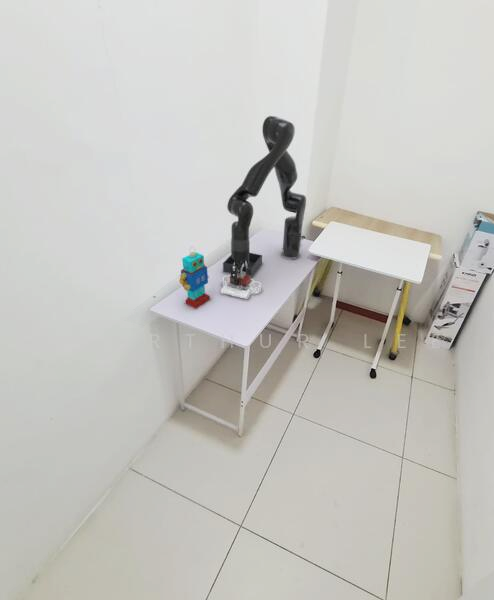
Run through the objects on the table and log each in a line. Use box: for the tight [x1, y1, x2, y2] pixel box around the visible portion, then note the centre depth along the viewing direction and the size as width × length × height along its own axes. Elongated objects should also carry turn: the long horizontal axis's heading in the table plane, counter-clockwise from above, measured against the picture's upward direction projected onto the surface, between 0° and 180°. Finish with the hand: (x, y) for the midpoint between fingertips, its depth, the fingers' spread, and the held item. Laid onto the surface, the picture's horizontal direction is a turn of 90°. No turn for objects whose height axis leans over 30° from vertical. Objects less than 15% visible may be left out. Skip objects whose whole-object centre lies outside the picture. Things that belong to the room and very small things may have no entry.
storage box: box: [222, 252, 263, 278], centre depth 163 cm, size 15×14×5 cm
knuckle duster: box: [220, 274, 262, 300], centre depth 148 cm, size 3×18×15 cm
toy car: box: [230, 271, 252, 287], centre depth 145 cm, size 8×4×5 cm, turn 75°
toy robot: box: [178, 246, 211, 309], centre depth 132 cm, size 12×6×25 cm, turn 148°
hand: (240, 280), depth 146 cm, fingers open, 8 cm apart
